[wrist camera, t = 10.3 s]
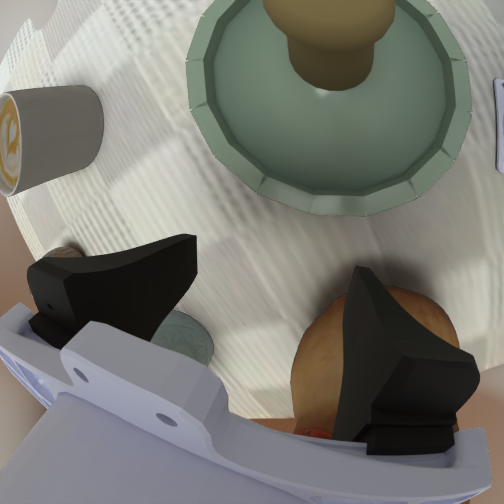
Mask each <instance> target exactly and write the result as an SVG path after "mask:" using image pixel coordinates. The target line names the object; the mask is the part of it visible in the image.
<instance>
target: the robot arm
mask: <svg viewBox="0 0 504 504" xmlns="http://www.w3.org/2000/svg"><path fill="white" fill-rule="evenodd" d="M502 83H503V85H504V80H502V79H499V78H496V79H494V88H495V98H496V110H497V170H498V171H499V172H501V173H504V88H503V86H502ZM197 274H198V272H197V236H196V235H190V234H179V235H175V236H172V237H168V238H165V239H162V240H159V241H156V242H153V243H149V244H146V245H143V246H139V247H136V248H132V249H129V250H125V251H121V252H116V253H111V254H104V255H97V256H89V257H67V258H65V257H43V258H41V259H40V260H38V261H37V262H35V263H34V264H32V265H31V266H29V268H28V270H27V280H28V284H29V288H30V291H31V293H32V296H33V298H34V301H35V303H36V306H37V308H38V311H39V312H38V313H37V314H36V315H34V314H33V312H32V311H31V310H30V309H28V308H27V307H26V306H24V305H23V304H22V303H18V304H17V305H15V306H14V307H13V308H12V309H10V310H9V311H8V312H7V313H6V314H4V315H3V316H2V317H1V318H0V357H1V359H2V360H3V362H4V363H5V364H6V366H7V368H8V369H9V371H10V372H11V373H12V374H13V375H14V376H15V377H16V378H17V379H18V380H19V381H20V382H21V383H22V384H23V385H24V386H25V387H26V388H27V390H28V391H29V392H30V393H31V394H33V395H34V397H35V398H36V399H38V400H39V401H40V402H41V403H42V404H43V405H44V406H45V407H46V408H47V409H48V410H47V411H46V412H45V414H44V415H43V416H42V417H41V418H40V420H39V421H38V422H37V423H36V425H35V426H34V427H33V429H32V430H31V431H30V432H29V434H28V435H27V436H26V437H25V439H24V440H23V441H22V442H21V444H20V445H19V446H18V448H17V449H16V450H15V452H14V453H13V454H12V456H11V457H10V458H9V460H8V461H7V462H6V464H5V465H4V466H3V468H2V469H1V471H0V504H460V503H462V502H464V501H466V500H468V499H470V498H472V497H474V496H476V495H478V494H480V493H482V492H483V491H485V490H487V489H489V488H490V487H491V486H492V478H491V468H490V459H489V452H488V446H487V440H486V434H485V429H484V428H483V427H480V428H472V429H464V430H460V431H457V432H455V433H453V426H452V425H455V424H456V422H457V418H456V412H457V411H458V410H459V409H460V408H461V407H462V406H463V405H464V404H465V403H466V402H467V400H468V399H469V398H470V397H471V396H472V395H473V393H474V392H475V391H476V389H477V387H478V384H479V382H480V373H479V370H478V367H477V365H476V362H475V359H474V356H473V355H471V354H469V353H467V352H465V351H463V350H461V349H459V348H457V347H455V346H453V345H451V344H450V343H448V342H446V341H445V340H443V339H441V338H440V337H438V336H437V335H435V334H434V333H432V332H431V331H430V330H428V329H427V328H426V327H424V326H423V325H422V324H421V323H419V322H418V321H417V320H416V319H415V318H414V317H412V316H411V315H410V314H409V313H408V312H407V311H406V310H405V309H404V308H403V307H402V306H401V305H400V304H399V303H398V302H397V301H396V300H395V299H394V297H393V296H392V295H391V294H390V293H389V292H388V291H387V289H386V288H385V287H384V286H383V284H382V283H381V282H380V281H379V279H378V278H377V277H376V276H375V274H374V273H373V272H372V271H371V270H370V269H369V268H365V267H360V266H355V269H354V273H353V277H352V280H351V283H350V287H349V290H348V293H347V297H346V300H345V303H344V310H343V322H342V328H343V376H342V384H341V391H340V398H339V404H338V409H337V414H336V419H335V424H334V429H333V433H332V437H331V440H328V439H321V438H314V437H307V436H301V435H296V434H290V433H285V432H280V431H275V430H272V429H270V428H267V427H265V426H262V425H260V424H257V423H255V422H252V421H250V420H248V419H246V418H243V417H241V416H239V415H237V414H234V413H232V412H230V411H229V409H228V394H227V392H226V389H225V387H224V385H223V382H222V381H221V379H220V378H219V377H218V376H216V375H215V374H214V373H213V372H212V371H211V370H210V369H209V368H208V367H207V366H205V365H204V364H202V363H200V362H198V361H196V360H194V359H192V358H190V357H188V356H186V355H183V354H181V353H178V352H175V351H172V350H169V349H166V348H164V347H161V346H158V345H156V344H153V343H151V342H150V341H151V339H152V338H153V336H154V334H155V333H156V331H157V329H158V328H159V326H160V325H161V323H162V322H163V321H164V319H165V318H166V317H167V316H168V314H169V313H170V312H171V311H172V309H173V308H174V307H175V306H176V304H177V303H178V302H179V301H180V299H181V298H182V297H183V296H184V294H185V293H186V292H187V291H188V289H189V288H190V286H191V284H192V283H193V281H194V279H195V277H196V275H197Z"/></svg>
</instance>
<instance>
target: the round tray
mask: <svg viewBox="0 0 504 504" xmlns="http://www.w3.org/2000/svg"><path fill="white" fill-rule="evenodd" d="M395 3H396V9H395V16H394V21H393V23H392V25H391V26H390V27H389V29H388V30H387V32H386V33H385V35H384V36H383V38H382V39H380V40H378V41H377V42H375V46H374V60H373V65H372V70H371V72H370V74H369V75H368V76H367V78H366V79H365V81H363V82H362V83H360V84H359V85H358V86H356V87H355V88H351V89H348V90H344V91H327V90H323V89H320V88H316V87H314V86H312V85H311V84H309V83H307V82H305V81H304V80H303V79H302V78H301V77H300V76H299V75H298V74H297V73H296V72H295V71H294V69H293V67H292V65H291V63H290V61H289V54H288V45H287V36H286V35H285V34H284V33H283V32H282V31H280V30H279V29H278V28H277V27H276V26H275V25H274V23H273V22H272V20H271V19H270V17H269V16H268V14H267V12H266V11H265V9H264V8H263V2H262V0H215V1H214V2H213V3H212V4H211V5H210V6H209V8H208V9H207V10H206V11H205V12H204V13H203V14H202V15H203V16H205V17H202V16H201V18H200V20H199V23H198V26H197V28H196V31H195V34H194V37H193V40H192V42H191V45H190V48H189V51H188V54H187V57H186V60H188V61H187V62H185V63H186V76H187V87H188V98H189V109H192V110H191V111H190V112H191V114H192V115H193V117H194V119H195V121H196V123H197V125H198V127H199V129H200V131H201V132H202V134H203V136H204V138H205V140H206V142H207V144H208V146H209V148H210V150H211V152H212V153H213V155H216V154H217V155H216V156H215V158H217V159H218V160H219V161H220V162H221V163H222V164H223V165H225V166H226V167H227V168H228V169H229V170H230V171H231V172H233V173H234V174H235V175H236V176H237V177H238V178H239V179H241V180H242V181H243V182H244V183H245V184H246V185H247V186H248V187H249V188H251V189H252V190H253V191H254V192H256V191H257V190H258V192H257V194H259V195H262V196H264V197H267V198H269V199H272V200H275V201H277V202H280V203H282V204H285V205H287V206H290V207H292V208H294V209H297V210H299V211H302V212H304V213H307V214H309V211H310V209H311V215H336V216H361V217H365V214H366V213H367V216H370V215H373V214H376V213H378V212H381V211H384V210H387V209H390V208H392V207H395V206H398V205H401V204H404V203H406V202H409V201H412V200H415V199H417V197H416V195H417V196H418V197H420V196H421V195H422V194H423V193H424V192H425V191H426V190H427V189H428V188H429V187H430V186H432V185H433V184H434V183H435V182H436V181H437V180H438V179H439V178H440V177H441V176H442V175H443V174H444V173H445V172H446V171H447V170H448V169H449V168H450V167H451V166H452V165H453V164H454V161H453V160H455V161H456V159H457V156H458V154H459V151H460V149H461V146H462V143H463V140H464V138H465V135H466V132H467V129H468V126H469V123H470V119H471V116H472V114H471V113H470V112H472V100H471V89H470V80H469V73H468V66H467V61H463V60H465V59H466V58H465V56H464V54H463V52H462V50H461V49H460V47H459V45H458V43H457V41H456V39H455V38H454V36H453V34H452V32H451V31H450V29H449V27H448V26H447V24H446V22H445V21H444V19H443V18H442V16H441V14H440V13H436V12H437V10H436V9H435V8H434V7H433V6H432V5H431V4H429V3H428V2H427V1H426V0H395Z"/></svg>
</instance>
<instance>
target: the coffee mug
mask: <svg viewBox="0 0 504 504" xmlns="http://www.w3.org/2000/svg"><path fill="white" fill-rule="evenodd" d="M103 129H104V119H103V111H102V106H101V103H100V101H99V98H98V96H97V95H96V93H95V92H94V91H93V90H92V89H91V88H89V87H87V86H82V85H80V86H56V87H42V88H32V89H24V90H16V91H10V92H5V93H3V94H1V95H0V193H1V194H2V195H4V196H6V197H10V196H13V195H15V194H17V193H20V192H22V191H24V190H27V189H29V188H32V187H34V186H37V185H39V184H42V183H44V182H47V181H50V180H52V179H55V178H58V177H61V176H64V175H66V174H69V173H72V172H75V171H78V170H81V169H84V168H86V167H87V166H88V165H89V164H90V163H91V162H92V161H93V160H94V158H95V157H96V155H97V153H98V151H99V148H100V145H101V142H102V136H103Z"/></svg>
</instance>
